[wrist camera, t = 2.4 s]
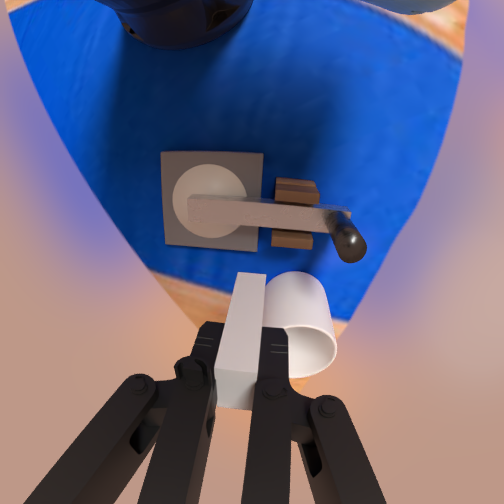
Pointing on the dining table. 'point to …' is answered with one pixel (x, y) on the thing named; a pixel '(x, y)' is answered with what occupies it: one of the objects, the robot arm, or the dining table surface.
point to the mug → (301, 321)
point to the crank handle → (281, 218)
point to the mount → (294, 193)
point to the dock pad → (212, 183)
